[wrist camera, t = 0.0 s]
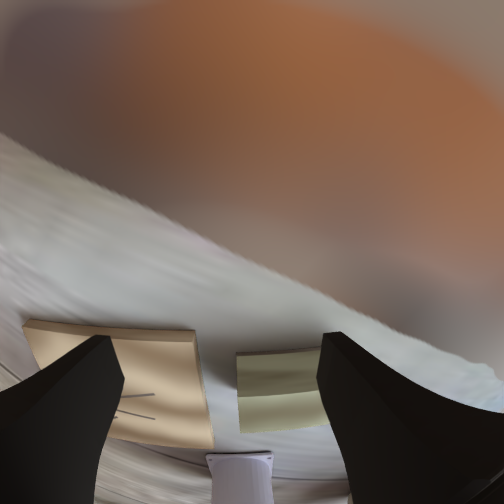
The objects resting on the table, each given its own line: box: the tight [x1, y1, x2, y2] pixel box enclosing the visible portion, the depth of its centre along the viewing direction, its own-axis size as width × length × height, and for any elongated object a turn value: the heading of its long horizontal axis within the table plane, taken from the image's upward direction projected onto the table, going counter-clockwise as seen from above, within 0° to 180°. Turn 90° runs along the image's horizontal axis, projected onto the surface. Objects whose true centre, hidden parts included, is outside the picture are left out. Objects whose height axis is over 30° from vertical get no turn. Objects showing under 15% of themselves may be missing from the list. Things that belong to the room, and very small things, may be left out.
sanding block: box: [236, 347, 330, 433], centre depth 19 cm, size 4×9×5 cm, turn 91°
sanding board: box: [22, 319, 215, 449], centre depth 21 cm, size 15×17×2 cm
